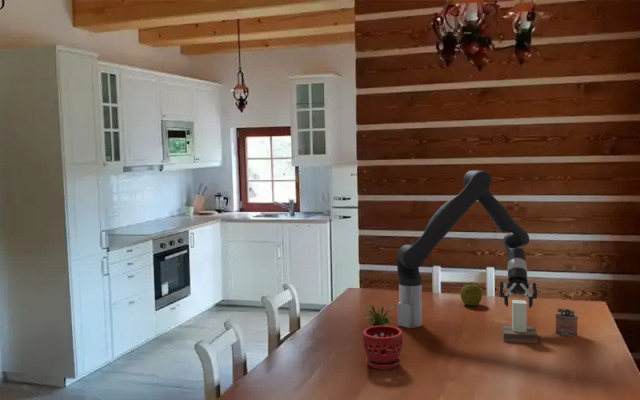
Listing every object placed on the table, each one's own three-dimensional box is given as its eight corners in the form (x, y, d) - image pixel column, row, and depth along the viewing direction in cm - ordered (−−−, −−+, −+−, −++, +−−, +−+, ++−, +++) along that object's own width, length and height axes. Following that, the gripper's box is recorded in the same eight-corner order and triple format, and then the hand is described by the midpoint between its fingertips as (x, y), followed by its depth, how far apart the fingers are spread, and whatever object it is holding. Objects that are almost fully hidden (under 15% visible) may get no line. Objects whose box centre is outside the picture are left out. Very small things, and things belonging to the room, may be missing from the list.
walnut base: (537, 343, 227) (537, 335, 227) (503, 341, 230) (503, 333, 230) (534, 334, 239) (534, 326, 238) (502, 332, 242) (502, 324, 241)
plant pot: (362, 358, 214) (362, 325, 213) (400, 358, 213) (400, 324, 212) (364, 372, 201) (363, 336, 200) (404, 372, 200) (404, 336, 199)
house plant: (351, 348, 225) (351, 304, 223) (362, 337, 238) (361, 296, 236) (389, 352, 220) (389, 307, 219) (398, 340, 233) (398, 298, 232)
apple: (465, 301, 291) (465, 278, 290) (485, 304, 286) (485, 281, 285) (457, 305, 283) (457, 282, 282) (477, 308, 278) (477, 285, 277)
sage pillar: (526, 332, 231) (526, 303, 230) (512, 331, 233) (512, 303, 232) (525, 328, 236) (525, 300, 235) (511, 327, 237) (512, 299, 236)
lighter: (577, 334, 238) (578, 309, 237) (577, 336, 235) (577, 311, 234) (555, 331, 241) (555, 307, 240) (554, 334, 238) (555, 309, 237)
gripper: (499, 266, 250) (500, 300, 239) (536, 267, 246) (538, 302, 236) (499, 276, 255) (499, 310, 245) (535, 277, 251) (537, 312, 241)
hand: (518, 306), depth 240 cm, fingers open, 8 cm apart
